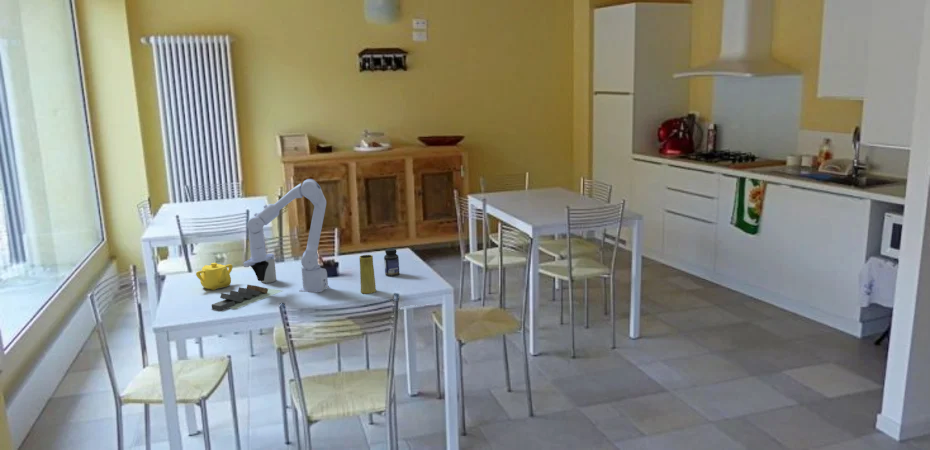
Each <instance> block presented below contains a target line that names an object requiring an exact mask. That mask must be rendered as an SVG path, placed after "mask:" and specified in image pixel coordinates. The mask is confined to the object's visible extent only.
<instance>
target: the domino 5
mask: <svg viewBox="0 0 930 450" xmlns="http://www.w3.org/2000/svg"><path fill="white" fill-rule="evenodd" d="M246 288H247V289H251V290H255V291H259V292H262V293H267V292H268V289H269V288H268V287H263V286H259V285H252V284H247V285H246ZM267 288H268V289H267Z"/></svg>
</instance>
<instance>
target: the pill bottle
mask: <svg viewBox="0 0 930 450" xmlns="http://www.w3.org/2000/svg"><path fill="white" fill-rule="evenodd" d="M384 252H385V255H384V257H383V260H384V273H385V276H386V277H395V276H399V275H400V260H399V255H398V254H397V249H396V248H387V249H385V251H384Z"/></svg>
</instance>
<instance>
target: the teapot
mask: <svg viewBox="0 0 930 450" xmlns="http://www.w3.org/2000/svg"><path fill="white" fill-rule="evenodd" d="M232 270H233V264H231V263H230V264H225V265H224V264H220V263H217V262H211V263H210V264H205V265H204V266H202V268H201V270H197V271H196V272H195V275H196V277H197V279H198V280H199V281H200V285H201V286H202V287H203V288H205V289H207V290H211V291H216V290H217V289H221V288H227V287H228V286H230V285H231V283H232V278H231V272H232Z"/></svg>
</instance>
